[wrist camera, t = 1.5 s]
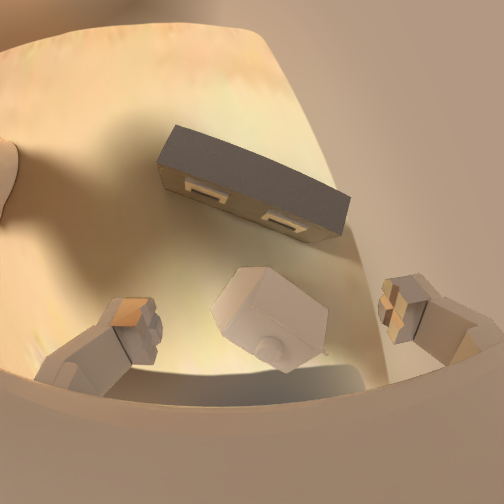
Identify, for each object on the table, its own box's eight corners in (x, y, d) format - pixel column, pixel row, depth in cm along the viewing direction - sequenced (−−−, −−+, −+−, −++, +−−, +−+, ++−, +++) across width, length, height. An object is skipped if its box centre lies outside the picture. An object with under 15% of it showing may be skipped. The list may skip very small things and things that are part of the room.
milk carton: (239, 266, 38) (284, 265, 19) (279, 295, 39) (352, 316, 20) (209, 308, 36) (226, 349, 18) (251, 336, 37) (302, 391, 19)
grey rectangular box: (163, 191, 36) (154, 166, 26) (178, 158, 37) (175, 124, 27) (306, 245, 40) (340, 239, 30) (316, 212, 41) (350, 197, 31)
